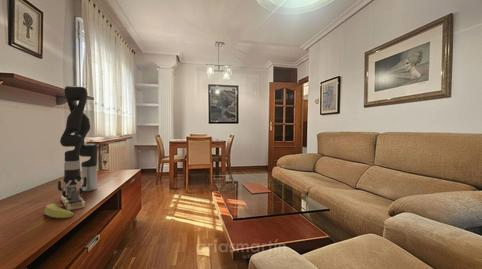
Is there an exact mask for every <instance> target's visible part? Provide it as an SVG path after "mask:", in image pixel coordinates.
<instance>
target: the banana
mask: <svg viewBox="0 0 482 269" xmlns="http://www.w3.org/2000/svg"><path fill="white" fill-rule="evenodd" d="M44 214H45V215H46V216H47V217H51V218H54V219H69V218H73V217H74V216H75V213H74V212H72V210H67V209H66V208H65V209H64V204H61V205H58V204H57V203H53V202H52V203H49V204H47V205H46V206H45V209H44Z"/></svg>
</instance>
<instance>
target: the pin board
mask: <svg viewBox="0 0 482 269" xmlns="http://www.w3.org/2000/svg"><path fill="white" fill-rule="evenodd" d="M71 186H75V185H71ZM71 186H68V187H67V188H66V197H64V196H62V194H61V202H62V203H63V204H62V205H63V206H64V207H65V210H68V211H73V210H78V209H82V208H85V207H86V201H85V200H84V199H83V198H82V196H80V194H79V189H76V191H72V192H71V200H69V187H71Z"/></svg>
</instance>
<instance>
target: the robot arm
mask: <svg viewBox="0 0 482 269" xmlns="http://www.w3.org/2000/svg"><path fill="white" fill-rule="evenodd" d="M88 95H89V94H88V91H87V88H86V87H85V86H81V85H80V86H79V85H67V86H65V87H64V97H65V100H66V102H67V104H68V105H67V106H68V108H69V112H70V113H69V114H68V115H67V118H66V125H65V129H64V130H63V133H62V135H61V137H60V139H59V143H60V145H61V146H62V147H63V148H64V147H65V148H66V147H67V148H68V147H74V148H73V149H72V150H66V151H65V152H64V164H63V169H64V171H63V172H64V174H63V175H64V177H63V179H56V180H57V190H58V191H59V192H60V191H61V195H62V196H64V197H66V194H67V187H68V186H71V185H74V186H76V185H77V186H78V187H79V188H78V191H79V195H82V194H83V192H90V191H95V190H97V189H98V152H99V151H98V150H99V149H98V144H96V143H85V138H86V136H88V133H89V131H90V130H91V124H90V119H89V117H88V115H87V114H86V113H85V112H84V111H85V107H86V104H87V100H88ZM76 101H77V102H78V104H77V102H76ZM73 133H75V134H73ZM80 157H84V158H86V157H87V158H88V157H90V158H88V159H87V160H83V161H82V162H80ZM80 181H81V183H80ZM63 183H65V184H64V185H63V187H62V184H63Z"/></svg>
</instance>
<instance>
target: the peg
mask: <svg viewBox="0 0 482 269" xmlns="http://www.w3.org/2000/svg"><path fill="white" fill-rule="evenodd" d="M76 190H77V186H76V185H74V186H71V187H69V200H71V192H72V191H76Z"/></svg>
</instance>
